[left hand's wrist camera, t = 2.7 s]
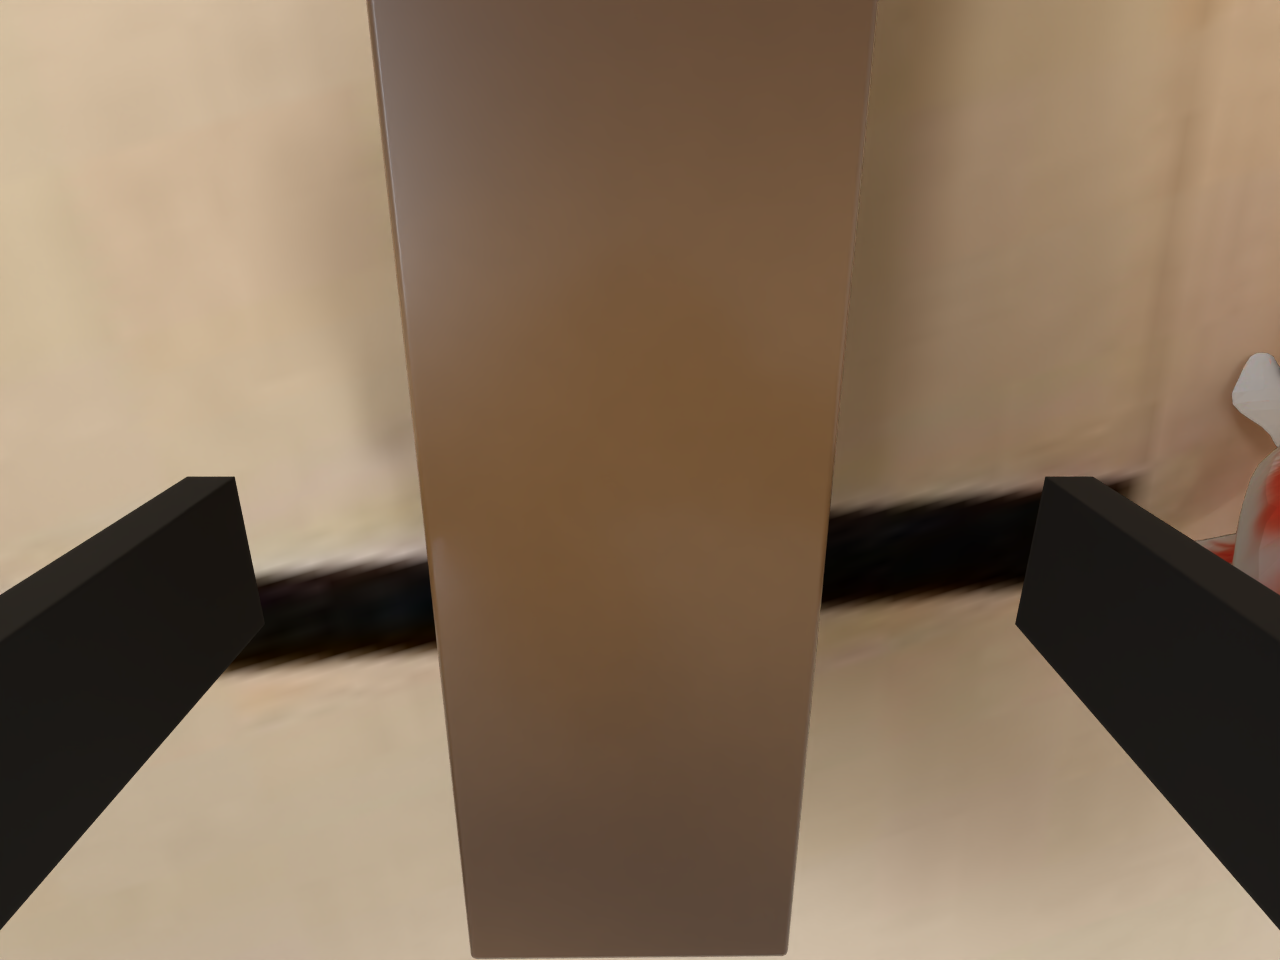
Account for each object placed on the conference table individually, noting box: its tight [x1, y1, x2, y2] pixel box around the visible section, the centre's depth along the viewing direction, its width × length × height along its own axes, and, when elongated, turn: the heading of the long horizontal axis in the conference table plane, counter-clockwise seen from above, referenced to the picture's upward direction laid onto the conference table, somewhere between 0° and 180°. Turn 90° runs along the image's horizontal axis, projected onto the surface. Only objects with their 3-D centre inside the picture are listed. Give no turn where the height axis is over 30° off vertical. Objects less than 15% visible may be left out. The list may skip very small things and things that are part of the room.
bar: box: [366, 0, 879, 959], centre depth 10 cm, size 24×4×8 cm, turn 0°
